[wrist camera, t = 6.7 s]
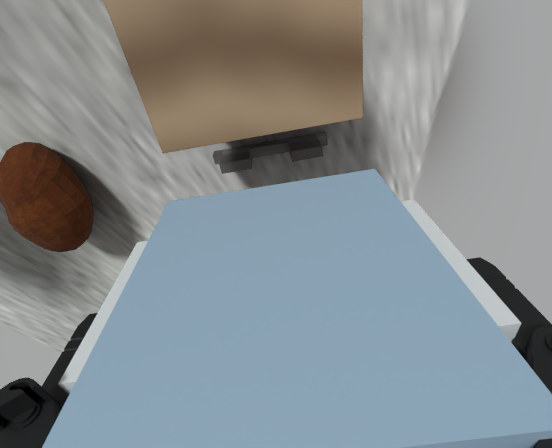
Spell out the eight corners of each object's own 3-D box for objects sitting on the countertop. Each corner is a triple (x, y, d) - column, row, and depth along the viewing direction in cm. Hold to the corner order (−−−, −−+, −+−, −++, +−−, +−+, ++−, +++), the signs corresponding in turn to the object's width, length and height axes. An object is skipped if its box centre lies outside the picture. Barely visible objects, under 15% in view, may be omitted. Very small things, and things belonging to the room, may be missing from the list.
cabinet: (325, 141, 32) (363, 205, 21) (216, 160, 33) (193, 233, 21) (313, -25, 25) (361, -69, 13) (171, 4, 25) (98, -14, 14)
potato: (67, 126, 30) (14, 155, 24) (127, 219, 37) (98, 262, 30) (1, 146, 31) (-68, 179, 25) (70, 233, 37) (30, 278, 31)
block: (372, 233, 18) (514, 498, 8) (192, 260, 18) (112, 540, 8) (374, 168, 16) (577, 427, 6) (168, 201, 16) (19, 490, 6)
